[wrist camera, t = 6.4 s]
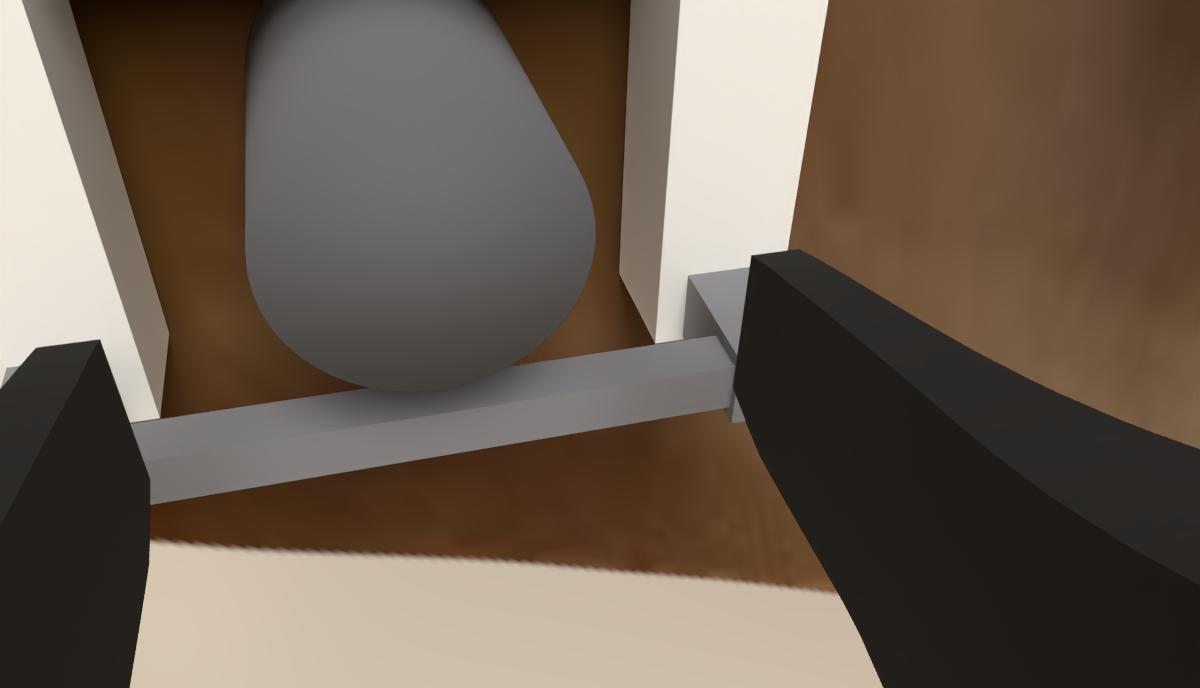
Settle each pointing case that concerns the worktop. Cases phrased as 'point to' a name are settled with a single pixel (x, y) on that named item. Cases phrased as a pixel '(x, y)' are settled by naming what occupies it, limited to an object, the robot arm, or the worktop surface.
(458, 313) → the grey rounded cylinder
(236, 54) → the worktop surface
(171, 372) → the worktop surface
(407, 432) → the white frame with crossbar
